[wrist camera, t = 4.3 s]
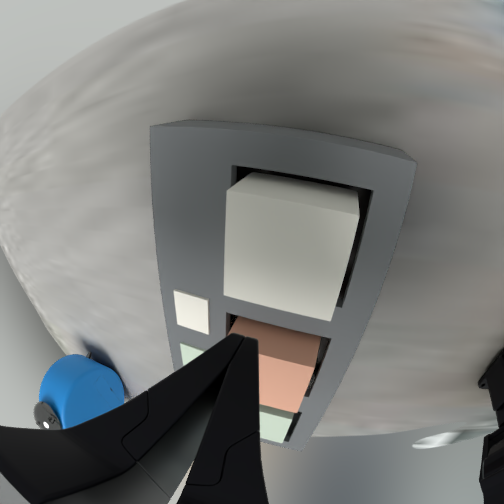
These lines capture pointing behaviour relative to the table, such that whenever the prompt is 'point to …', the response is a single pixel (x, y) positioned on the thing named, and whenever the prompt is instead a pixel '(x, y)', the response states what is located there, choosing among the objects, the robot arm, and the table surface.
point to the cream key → (288, 243)
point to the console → (213, 237)
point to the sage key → (274, 423)
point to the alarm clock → (76, 392)
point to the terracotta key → (281, 362)
